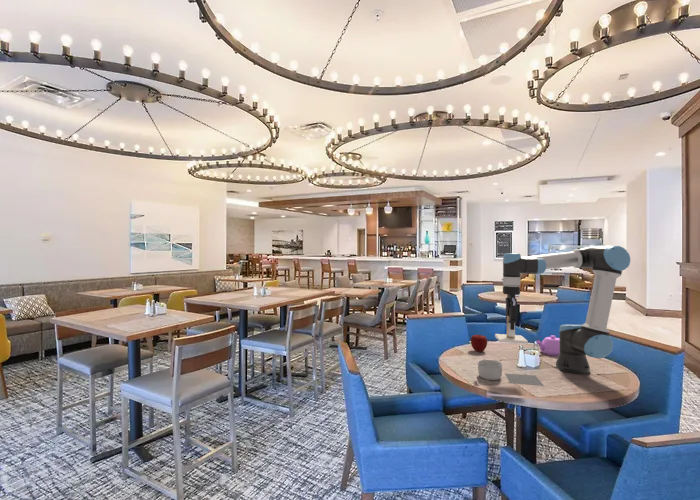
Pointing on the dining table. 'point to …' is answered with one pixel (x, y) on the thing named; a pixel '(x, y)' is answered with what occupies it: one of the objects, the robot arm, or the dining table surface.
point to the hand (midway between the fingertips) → (510, 335)
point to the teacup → (490, 369)
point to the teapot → (550, 345)
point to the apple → (478, 342)
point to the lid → (510, 339)
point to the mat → (523, 379)
